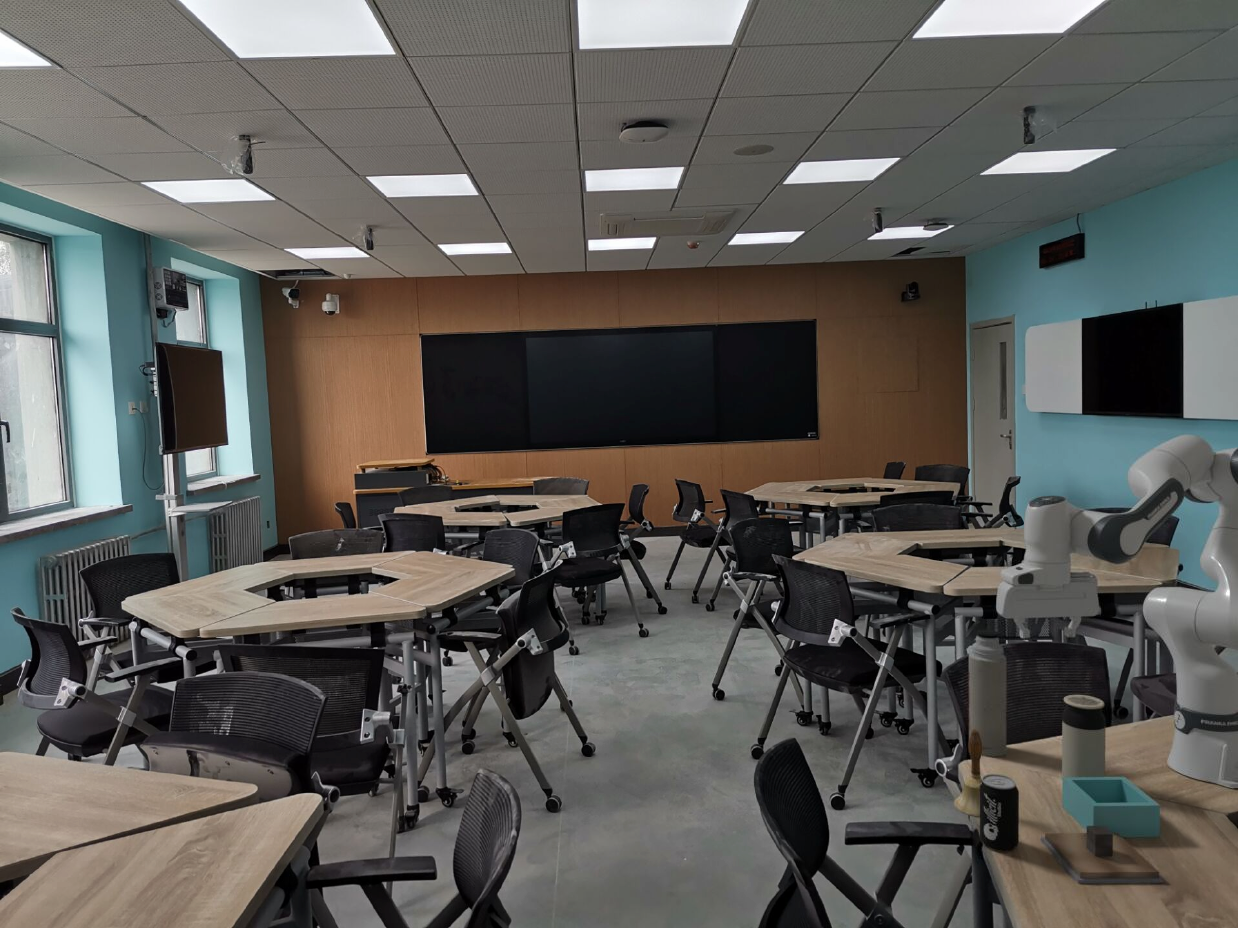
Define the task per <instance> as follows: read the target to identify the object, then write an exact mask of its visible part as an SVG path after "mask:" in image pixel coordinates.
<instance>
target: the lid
mask: <svg viewBox="0 0 1238 928" xmlns="http://www.w3.org/2000/svg"><path fill="white" fill-rule="evenodd" d="M1044 837H1045V839H1046V840H1047V841H1048V843H1049V844H1050V845H1051V846H1052V847H1053V848H1054V849H1055V850H1056V852H1057V853H1058V854H1059V855H1060V856H1061V857H1062V858H1063V859H1064V861H1065V862H1066V863H1067V864H1068V865H1069V866H1070V867H1071V868H1072V870H1073V871H1074V872H1075V873H1076V874H1077V875H1078V876H1079V877H1080V878H1159V876H1160V871H1159V870H1157V868H1155V867H1154V866H1153V865H1152V864H1151V863H1150V861H1148V860H1147V859H1146V858H1145V857H1143V855H1142V854H1140V853H1139V852H1138V850H1136V849H1135V848H1134V847H1133V846H1132V845H1131V844H1130V843H1129V842H1127V840H1125V838H1124V837H1121V836H1120V835H1119V834H1118V833H1111V832H1110V831H1109V830H1108V829H1107V828H1106V827H1105V826H1087V831H1086V832H1079V833H1078V832H1077V833H1076V832H1071V833H1070V832H1068V833H1063V832H1060V833H1057V832H1056V833H1044Z"/></svg>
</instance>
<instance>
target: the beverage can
mask: <svg viewBox="0 0 1238 928" xmlns="http://www.w3.org/2000/svg"><path fill="white" fill-rule="evenodd" d="M981 779H982V783H981V784H980V817H979V839H980V840H981V842H982V843H983V844H984V845H985V846H986V847H987V848H989V849H991V850H994V851H999V852H1010V851H1013V850H1014V849H1016V848H1017V847H1019V843H1020V842H1019V839H1020V834H1019V831H1020V829H1019V828H1020V826H1019V825H1020V824H1019V823H1020V822H1019V821H1020V820H1019V819H1020V815H1019V813H1020V811H1019V810H1020V808H1019V807H1020V806H1019V805H1020V802H1019V801H1020V800H1019V798H1020V796H1019V795H1020V791H1019V789H1018V787H1017V781H1016V780H1015V779H1013V778H1012V777H1009V776H1006V775H1003V774H997V773H996V774H995V773H991V774H990V773H989V774H986V775H983V776H982V777H981Z"/></svg>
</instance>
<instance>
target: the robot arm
mask: <svg viewBox="0 0 1238 928" xmlns="http://www.w3.org/2000/svg"><path fill="white" fill-rule="evenodd" d="M1127 471H1128V472H1127V483H1128V486H1129V489H1130V490H1131V492H1132V494H1133V495H1134V496H1135V498H1136V499H1138V500H1139V501H1138V502H1137V503H1136V504H1135V505H1134V506H1133V507H1132V508H1131V509H1130V510H1128V511H1126V512H1121V513H1120V512H1119V513H1108V512H1101V511H1093V510H1088V509H1084V508H1082V507H1078V506H1076V505H1073V504H1072V503H1070V502H1069V501H1068V500H1067V498H1066V497H1064V496H1061V495H1043V496H1039V497H1035V498H1033V499H1032V500H1030V501H1029V502H1028V504H1027V507H1026V509H1025V512H1024V513H1025V514H1024V522H1023V523H1024V524H1023V539H1024V542H1025V552H1024V556H1023V562H1021V563H1018V564H1016V565H1013V566H1009V567H1007V568H1004V569H1002V570H1001V571H1000V578H1001V579H1002V580H1003V581H1002V582H1000V584H999V585H998V587H997V593H996V605H995V608H996V613H997V614H998V615H1000V617H1003V618H1004V619H1013V621H1014V623H1015V624H1016V626H1017V628H1018V629H1019V637H1020V638H1021V639H1030V638H1031V635H1030V634H1031V630H1030V629H1028V628H1025V626H1024V624H1025V622H1026V619H1035V618H1036V619H1037V618H1069V620H1071V621H1070V622H1069V624H1068V626H1065V627H1064V631H1063V632H1064V633H1063V635H1064V636H1065V637H1066V638H1075V637H1076V630H1077V629H1078V627H1079V625H1080V623H1081V622H1082V617H1095V616H1097V615H1098V613H1099V612H1100V603H1099V602H1100V601H1099V597H1098V596H1099V595H1098V584H1099V583H1098V578H1097V576H1096V575H1094V574H1093V573H1091V572H1090V571H1082V572H1077V571H1074V572H1073V571H1072V570H1071V569H1072V567H1071V565H1072V563H1071V562H1072V561H1071V560H1072V558H1071V554H1076V555H1079V556H1085V557H1089V558H1094V559H1097V560H1101V561H1104V562H1107V563H1111V564H1114V565H1122V564H1126V563H1128V562H1129V561H1131V560H1132V559H1134V558H1135V557H1136V556H1137V555H1138V554H1139V553H1140V551H1141V549H1142V548H1143V547H1144V544H1145V543H1146V542H1147V540H1148V539H1149V538H1150V536H1152V534H1153V533H1155V532H1156V531H1157V530H1158V529H1159V528H1160V527H1161V526H1162V525H1163V524H1164V523H1165V522H1166V521H1167V520H1168V519H1169V518H1170V517H1171V516H1172V515H1173V514H1174V513H1175V512H1176V511H1177V510H1178V509H1179V508H1180V506H1181V505H1182V503H1183V501H1184V500H1185V499H1184V498H1186V499H1187V500H1189V501H1190V502H1193V503H1199V504H1212V503H1215V502H1216V503H1217V502H1218V507H1219V508H1218V509H1219V510H1218V511H1219V512H1218V515H1217V516H1218V517H1217V518H1216V520H1215V522H1214V525H1213V526H1212V528H1211V531H1210V533H1209V535H1208V538H1207V540H1206V543H1205V545H1204V548H1203V549H1202V552H1201V555H1200V558H1199V564H1200V568H1201V570H1202V572H1203V573H1204V574H1205V576H1208V578H1209V579H1211V580H1212V581H1214V582H1215V583H1216V584H1218V586H1217V588H1216V590H1215V591H1206V590H1199V589H1194V588H1187V587H1183V586H1165V587H1164V586H1161V587H1160V586H1159V587H1155V588H1153V589H1152V590H1151V591H1150V592H1149V593H1148V594H1147V595H1146V597H1145V599H1144V601H1143V604H1142V605H1143V606H1142V614H1143V617H1144V620H1145V622H1146V623H1147V625H1148V626H1149V627H1150V628H1151V629H1153V630H1154V632H1156V634H1157V635H1159V637H1160V638H1161V639H1162V640H1163V642H1164V643H1165V645H1166V647H1167V649H1168V651H1169V653H1170V655H1171V657H1172V660H1173V663H1174V667H1175V674H1176V675H1175V676H1176V677H1175V678H1176V699H1175V701H1174V708H1173V723H1174V734H1173V740H1172V744H1171V748H1170V749H1171V750H1170V752H1169V755H1168V758H1167V759H1166V763H1167V766H1168V767H1170V769H1172V770H1174V771H1175V772H1177V773H1179V774H1181V775H1184V776H1186V777H1189V778H1192V779H1196V780H1199V781H1204V782H1208V783H1214V784H1217V785H1220V786H1222V787H1223V786H1224V787H1226V788H1230V789H1234V788H1238V672H1237V671H1236V669H1235V668H1234V666H1232V665H1231V664H1230V663H1228V662H1227V661H1225V660H1224V659H1223V658H1222V657H1221V656H1220V655H1219V654H1218V653H1217V652H1216V649H1215V648H1214V646H1219V647H1223V648H1228V649H1232V650H1237V651H1238V447H1231V448H1226V449H1222V450H1217V451H1214V450H1213V448H1212V446H1211V444H1210V443H1209V442H1208V441H1207V440H1205V439H1204V438H1202V437H1200V436H1197V435H1194V434H1181V435H1179V436H1176V437H1174V438H1171V439H1168V440H1167V441H1165V442H1163V443H1161V444H1159V445H1157V446H1155V447H1153V448H1152V449H1151V450H1149V451H1148V452H1146V453H1145V454H1143V455H1141V456H1140V457H1139V458H1138V459H1136V461H1134V462H1133V463H1132V464H1131V466H1129V469H1128V470H1127ZM1213 645H1214V646H1213Z"/></svg>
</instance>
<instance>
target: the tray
mask: <svg viewBox="0 0 1238 928" xmlns="http://www.w3.org/2000/svg"><path fill="white" fill-rule="evenodd" d="M1040 841H1041V842H1042V844H1043V845H1044V846H1045V847H1046V848H1047V849H1048V851H1049V852H1050V853H1051V854H1052V855H1053V857H1054V858H1055V859H1056V860H1057V861H1058V862H1059V863H1060V864H1061V865H1062V866H1063V867H1064V869H1065V870H1066V871H1067V872H1068V873H1069V875H1070V876H1071V877H1072V878H1073V879H1074V880H1075V882H1077V883H1078V884H1136V883H1135V882H1138V883H1137V884H1160V883H1161V884H1162V883H1164V878H1163V877H1162V876H1161V875H1159V878H1080V877H1079V876H1078V875H1077V874H1076V873H1075V872H1074V871H1073V870H1072V868H1071V867H1070V866H1069V865H1068V864H1067V863H1066V862H1065V861H1064V859H1063V858H1062V857H1061V856H1060V855H1059V854H1058V853H1057V852H1056V850H1055V849H1054V848H1053V847H1052V846H1051V845H1050V844H1049V843H1048V841H1047V840H1046V839H1045V836H1043V837H1040ZM1141 882H1142V883H1141Z"/></svg>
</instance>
